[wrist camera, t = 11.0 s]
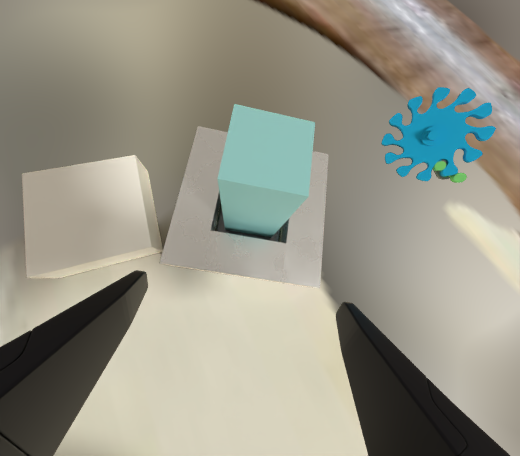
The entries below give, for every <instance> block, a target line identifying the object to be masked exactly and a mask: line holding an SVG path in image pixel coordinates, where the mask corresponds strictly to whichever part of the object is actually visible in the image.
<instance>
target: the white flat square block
mask: <svg viewBox="0 0 520 456" xmlns="http://www.w3.org/2000/svg"><path fill="white" fill-rule="evenodd" d="M22 186H23V210H24V233H25V256H26V278H62V277H66V276H70V275H74V274H78V273H82V272H86V271H90V270H93V269H97V268H101V267H105V266H109V265H113V264H117V263H121V262H125V261H129V260H133V259H137V258H140V257H144V256H148V255H152V254H156V253H160V252H163V248H162V242H161V237H160V232H159V227H158V221H157V216H156V211H155V206H154V200H153V195H152V190H151V185H150V180H149V174H148V171H147V170H146V168H145V167H144V166H143V164H142V163H141V162H140V161H139V159H138V158H137V157H136V155H132V156H126V157H119V158H113V159H107V160H101V161H95V162H89V163H83V164H76V165H70V166H65V167H58V168H52V169H46V170H39V171H34V172H28V173H22Z"/></svg>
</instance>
